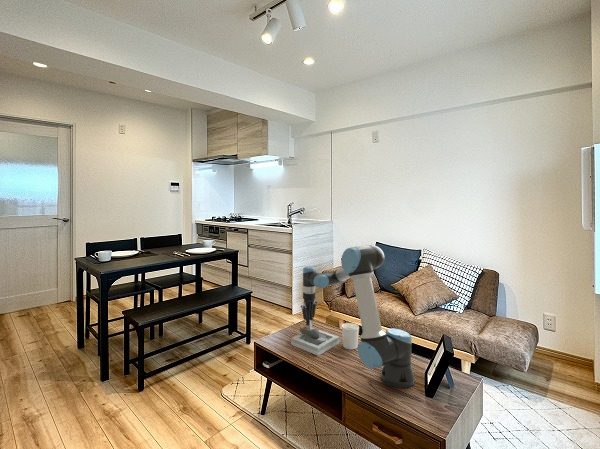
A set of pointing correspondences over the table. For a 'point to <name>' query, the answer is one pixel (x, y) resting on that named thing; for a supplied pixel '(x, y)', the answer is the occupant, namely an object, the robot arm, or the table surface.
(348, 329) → the candle holder
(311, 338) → the dial
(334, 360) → the table surface
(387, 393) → the table surface
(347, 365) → the table surface
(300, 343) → the dial panel
